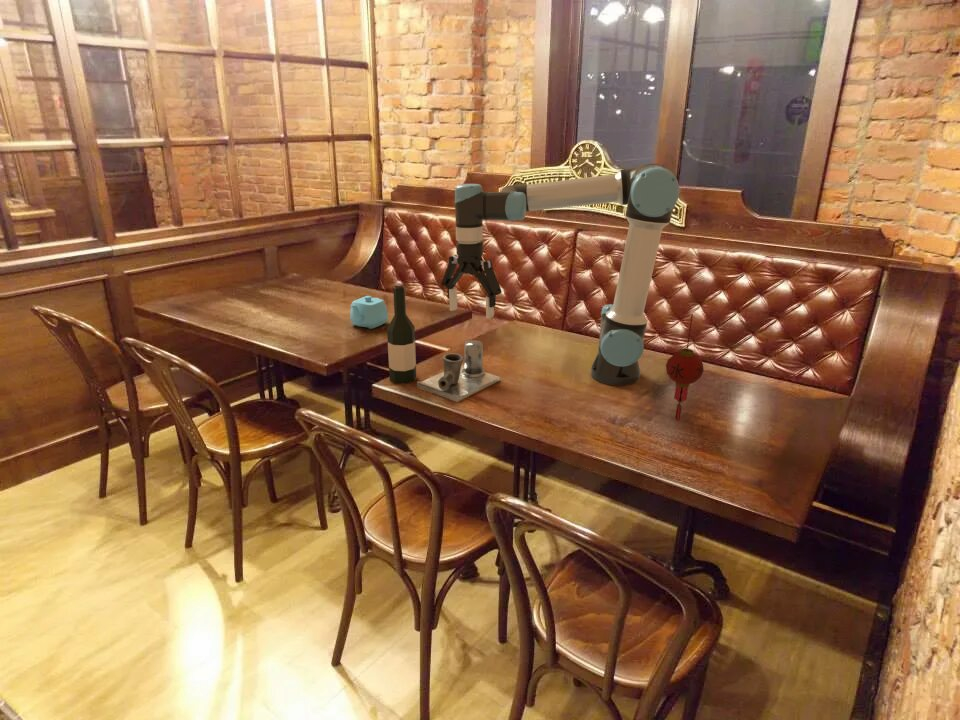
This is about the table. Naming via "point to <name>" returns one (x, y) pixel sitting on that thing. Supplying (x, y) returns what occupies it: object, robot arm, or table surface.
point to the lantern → (684, 372)
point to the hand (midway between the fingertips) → (471, 313)
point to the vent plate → (464, 376)
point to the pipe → (450, 370)
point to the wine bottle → (401, 341)
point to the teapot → (368, 312)
